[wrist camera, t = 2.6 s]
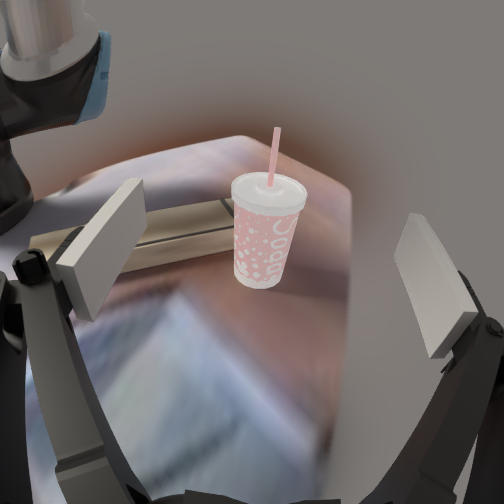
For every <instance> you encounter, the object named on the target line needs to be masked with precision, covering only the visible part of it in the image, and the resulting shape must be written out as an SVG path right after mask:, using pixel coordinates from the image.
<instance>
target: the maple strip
mask: <svg viewBox="0 0 504 504" xmlns="http://www.w3.org/2000/svg"><path fill="white" fill-rule="evenodd" d="M146 219H147V228H146V230H145V231H144V233H143V234H142V236H141V238H140V239H139V241H138V243H137V244H136V246H135V248H134V249H133V251H132V253H131V254H130V256H129V258H128V259H127V261H126V263H125V265H124V266H123V268H122V270H121V272H120V273H125V272H129V271H134V270H139V269H143V268H148V267H152V266H157V265H162V264H166V263H171V262H176V261H180V260H185V259H190V258H194V257H199V256H204V255H208V254H213V253H218V252H223V251H227V250H232V249H234V201H233V199H232V198H228V199H224V198H223V199H220V200H215V201H209V202H203V203H196V204H190V205H184V206H178V207H173V208H167V209H161V210H156V211H150V212H146ZM86 225H87V224H85V225H80V226H86ZM78 227H79V226H75V227H71V228H66V229H62V230H58V231H53V232H49V233H45V234H40V235H36V236H32V237H31V240H30V245H29V249H32V248H36V249H40V250H42V251H43V253H44V255H45V258H46V261H48V259H49V258H50V257H51V255H52V254H53V253H54V252H55V250H56V249H57V248H58V247H59V246H60V244H61V243H62V242H63V241H64V239H65V238H66V237H67V236H68V235H69V234H70V232H72V231H73V230H75V229H76V228H78ZM120 273H119V274H120Z"/></svg>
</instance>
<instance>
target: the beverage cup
mask: <svg viewBox="0 0 504 504" xmlns="http://www.w3.org/2000/svg"><path fill="white" fill-rule="evenodd" d="M280 131H281V128H279V127H275V128H274V135H273V143H272V150H271V158H270V166H269V173H265V172H255V173H247V174H244V175H241V176H239V177H237V178H236V179H235V180H234V181H233V182H232V185H231V187H232V191H231V193H232V199H233V201H234V273H235V276H236V278H237V279H238V281H239V282H241V283H242V284H244V285H245V286H248V287H251V288H255V289H266V288H269V287H273V286H275V285H276V284H277V283H278V282H279V281H280V279H281V276H282V273H283V269H284V266H285V262H286V259H287V255H288V252H289V248H290V245H291V241H292V238H293V234H294V231H295V227H296V223H297V220H298V216H299V213H300V210H302V209H303V207H304V205H305V200H306V198H307V192H306V189H305V187H304V186H302V185H301V184H300V183H299V182H297V181H296V180H294V179H291V178H289V177H286V176H283V175H279V174H275V167H276V160H277V153H278V146H279V138H280Z"/></svg>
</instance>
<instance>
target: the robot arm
mask: <svg viewBox="0 0 504 504" xmlns="http://www.w3.org/2000/svg"><path fill="white" fill-rule="evenodd" d="M0 16H1V20H2V24H3V28H4V31H5V35H6V38H7V44H6V45H5V47H4V49H3V51H1V48H0V234H2V233H4V232H5V231H7V230H8V229H10V228H11V227H12V226H14V225H15V224H16V223H18V222H19V221H20V220H21V219H22V218H23V217H24V216H25V215H26V214H27V212H28V211H29V210H30V208H31V206H32V204H33V200H34V198H33V194H32V190H31V186H30V183H29V181H28V180H27V178H26V176H25V175H24V173H23V171H22V170H21V168H20V166H19V164H18V163H17V161H16V159H15V158H14V156H13V153H12V150H11V145H10V139H11V138H15V137H18V136H22V135H26V134H30V133H35V132H39V131H43V130H48V129H53V128H58V127H62V126H68V125H76V124H78V123H80V122H83V121H87V120H92V119H95V118H97V117H99V116H100V115H101V113H102V112H103V110H104V107H105V103H106V97H107V89H108V73H109V66H110V55H111V35H110V33H109V32H103V31H99V28H98V24H97V22H96V20H95V19H94V18H93V17H92V16H90V15H89V14H86V13H85V12H84V0H0ZM146 228H147V219H146V209H145V199H144V188H143V179H139V178H128V179H127V180H126V181H125V182H124V183H123V184H122V186H121V187H120V188H119V189H118V190H117V191H116V192H115V193H114V194H113V195H112V196H111V197H110V199H109V200H108V201H107V202H106V203H105V204H104V205H103V206H102V208H101V209H100V210H99V211H98V212H97V213H96V214H95V216H94V217H93V218H92V219H91V220H90V221H89V223H88V224H87V225H86V226H79V227H78V228H76V229H75V230H73V231H72V232H70V234H69V235H68V236H67V237H66V238H65V239H64V241H63V242H62V243H61V244H60V246H59V247H58V248H57V249H56V250H55V252H54V253H53V254H52V255H51V257H50V258H49V259H48V261H46V258H45V255H44V253H43V251H42V250H40V249H36V248H32V249H28V250H26V251H24V252H22V253H20V254H19V255H18V256H17V257H16V258H15V260H14V261H13V265H12V266H13V269H14V271H15V273H16V275H17V278H18V280H11V281H8V279H7V277H6V275H5V273H4V272H2V271H0V504H33V499H32V490H31V483H30V475H29V467H28V457H27V445H26V428H25V377H26V359H27V348H28V354H29V359H30V364H31V369H32V374H33V379H34V383H35V388H36V392H37V396H38V400H39V404H40V407H41V411H42V415H43V418H44V421H45V425H46V428H47V431H48V434H49V437H50V440H51V443H52V446H53V449H54V452H55V455H56V458H57V463H58V464H57V466H56V467H55V474H56V477H57V480H58V483H59V486H60V488H61V490H62V493H63V495H64V497H65V499H66V502H67V504H247V503H244V502H241V501H238V500H235V499H232V498H229V497H227V496H223V495H216V494H209V493H203V492H197V491H191V490H185V494H177V495H171V496H166V497H162V498H159V499H156V500H154V501H152V500H151V498H150V497H149V495H148V494H147V492H146V490H145V489H144V487H143V486H142V484H141V483H140V481H139V480H138V478H137V477H136V476H135V474H134V473H133V471H132V470H131V468H130V466H129V464H128V462H127V460H126V458H125V457H124V455H123V453H122V451H121V449H120V447H119V445H118V443H117V441H116V439H115V436H114V434H113V432H112V430H111V428H110V426H109V424H108V421H107V419H106V417H105V415H104V412H103V410H102V408H101V405H100V403H99V400H98V398H97V396H96V393H95V391H94V388H93V385H92V383H91V380H90V378H89V375H88V372H87V369H86V367H85V364H84V361H83V358H82V355H81V352H80V349H79V346H78V343H77V340H76V336H75V333H74V330H73V326H72V323H71V320H70V318H69V314H70V312H71V310H72V308H73V310H74V312H75V315H76V317H77V318H78V319H82V320H86V321H91V322H93V321H94V320H95V318H96V316H97V314H98V312H99V310H100V308H101V306H102V304H103V302H104V300H105V299H106V297H107V295H108V293H109V291H110V289H111V288H112V286H113V284H114V282H115V280H116V279H117V277H118V275H119V273H120V272H121V270H122V268H123V266H124V265H125V263H126V261H127V259H128V258H129V256H130V254H131V253H132V251H133V249H134V248H135V246H136V244H137V243H138V241H139V239H140V238H141V236H142V234H143V233H144V231H145V230H146ZM393 257H394V259H395V262H396V264H397V267H398V269H399V272H400V274H401V277H402V279H403V282H404V284H405V287H406V290H407V293H408V295H409V298H410V301H411V303H412V306H413V309H414V312H415V315H416V318H417V321H418V323H419V327H420V330H421V333H422V336H423V339H424V342H425V345H426V348H427V352H428V355H429V358H430V359H432V358H444V357H445V356H446V355H447V354H448V353H449V351H450V350H451V349H452V352H453V355H454V357H453V358H452V359H451V360H450V361H449V363H448V364H447V365H446V366H445V367H444V368H443V369H442V371H441V373H443V372H444V371H445V372H444V375H443V377H442V379H441V381H440V383H439V385H438V387H437V389H436V391H435V393H434V395H433V397H432V399H431V401H430V403H429V405H428V407H427V408H426V410H425V412H424V414H423V416H422V418H421V420H420V421H419V423H418V425H417V427H416V428H415V430H414V431H413V433H412V435H411V437H410V438H409V440H408V441H407V443H406V445H405V446H404V448H403V449H402V451H401V452H400V454H399V456H398V457H397V459H396V460H395V462H394V463H393V464H392V466H391V468H390V469H389V470H388V472H387V473H386V475H385V476H384V477H383V479H382V480H381V481H380V483H379V484H378V486H377V487H376V488H375V489H374V490H373V492H371V493H370V494H369V495H368V496H367V497H366V498H364V500H362V501H361V502H360V503H359V504H455V503H456V498H457V496H456V495H455V494H454V493H453V489H454V486H455V484H456V482H457V480H458V478H459V476H460V474H461V472H462V470H463V467H464V465H465V463H466V461H467V459H468V456H469V454H470V451H471V449H472V447H473V444H474V442H475V439H476V437H477V434H478V437H477V444H476V449H475V454H474V460H473V464H472V469H471V474H470V478H469V482H468V486H467V490H466V493H465V497H464V501H463V504H504V329H503V327H502V326H501V325H500V323H499V322H497V321H496V320H495V319H493V318H491V317H487V316H486V314H485V312H484V310H483V309H482V306H481V304H480V302H479V300H478V298H477V296H476V295H475V293H474V291H473V289H471V288H472V287H471V285H470V283H469V281H468V280H467V278H466V277H465V276H464V275H463V274H462V273H461V272H460V271H457V270H456V268H455V266H454V265H453V263H452V261H451V259H450V258H449V256H448V254H447V252H446V251H445V249H444V247H443V246H442V244H441V242H440V241H439V239H438V238H437V236H436V234H435V233H434V231H433V230H432V228H431V226H430V225H429V223H428V222H427V220H426V219H425V217H424V216H423V215H421V214H416V213H410V215H409V218H408V220H407V223H406V226H405V228H404V231H403V233H402V236H401V238H400V241H399V244H398V246H397V249H396V251H395V253H394V256H393ZM291 504H341V500H340V499H334V500H304V501H300V502H295V503H291Z"/></svg>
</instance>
